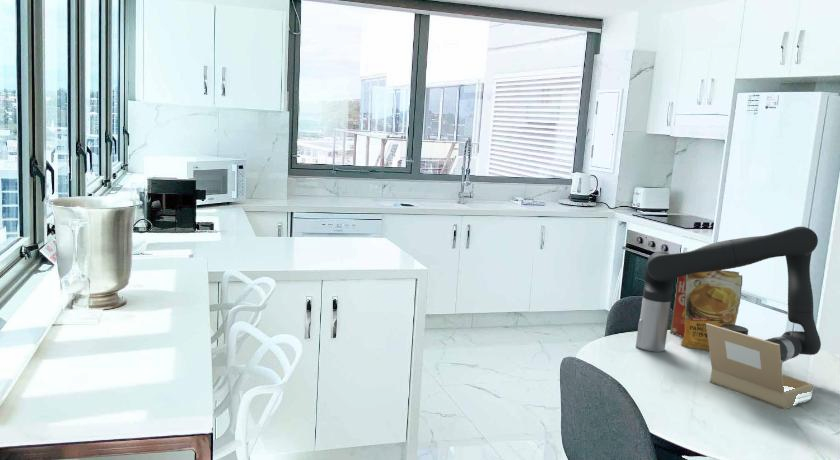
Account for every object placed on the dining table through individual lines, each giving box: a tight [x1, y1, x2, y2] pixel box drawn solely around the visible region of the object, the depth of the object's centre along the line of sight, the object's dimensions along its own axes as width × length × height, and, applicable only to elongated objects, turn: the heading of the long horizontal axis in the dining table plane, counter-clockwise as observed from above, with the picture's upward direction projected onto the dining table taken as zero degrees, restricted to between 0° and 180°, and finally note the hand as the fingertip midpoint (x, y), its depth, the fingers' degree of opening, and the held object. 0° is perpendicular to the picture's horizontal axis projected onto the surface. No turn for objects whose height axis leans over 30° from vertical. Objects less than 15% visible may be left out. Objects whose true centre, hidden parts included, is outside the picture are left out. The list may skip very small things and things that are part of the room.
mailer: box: [709, 368, 815, 410], centre depth 204 cm, size 16×22×4 cm
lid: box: [706, 323, 784, 393], centre depth 195 cm, size 16×21×1 cm
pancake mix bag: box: [680, 270, 743, 352], centre depth 242 cm, size 7×19×28 cm, turn 77°
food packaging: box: [669, 275, 686, 337], centre depth 257 cm, size 13×9×25 cm
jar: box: [721, 324, 749, 335], centre depth 228 cm, size 9×8×12 cm
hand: (745, 359), depth 196 cm, fingers closed
